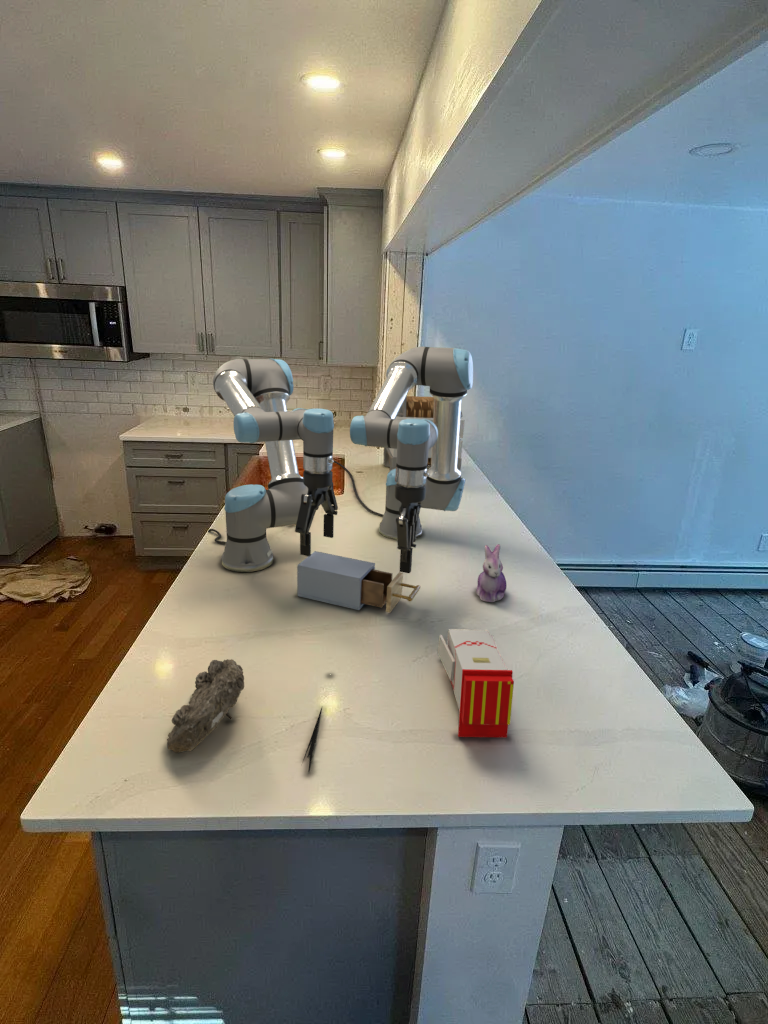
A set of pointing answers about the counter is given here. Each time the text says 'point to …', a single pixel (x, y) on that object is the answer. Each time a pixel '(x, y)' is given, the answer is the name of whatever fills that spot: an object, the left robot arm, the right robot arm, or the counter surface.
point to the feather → (313, 740)
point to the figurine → (491, 577)
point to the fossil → (206, 705)
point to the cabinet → (332, 579)
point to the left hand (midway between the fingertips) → (317, 545)
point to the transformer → (419, 410)
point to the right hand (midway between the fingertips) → (405, 571)
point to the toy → (478, 682)
